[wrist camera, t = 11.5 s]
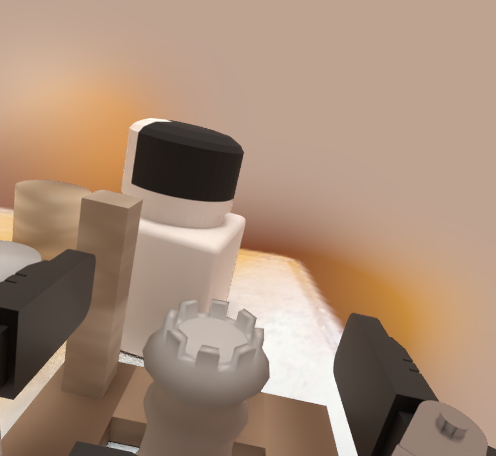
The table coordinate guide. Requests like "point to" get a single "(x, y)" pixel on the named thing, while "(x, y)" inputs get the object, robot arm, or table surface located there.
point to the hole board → (131, 376)
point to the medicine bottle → (179, 221)
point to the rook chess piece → (201, 380)
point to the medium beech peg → (47, 216)
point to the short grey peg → (15, 258)
